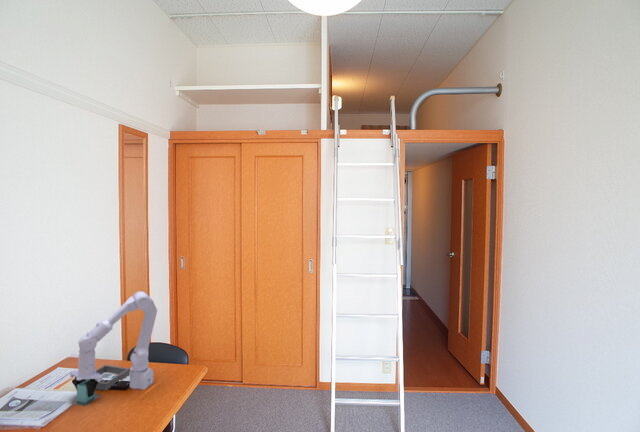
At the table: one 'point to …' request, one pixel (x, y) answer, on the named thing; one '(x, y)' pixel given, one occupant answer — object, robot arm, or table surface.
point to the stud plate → (86, 402)
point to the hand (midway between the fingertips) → (85, 394)
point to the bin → (112, 369)
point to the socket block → (83, 392)
